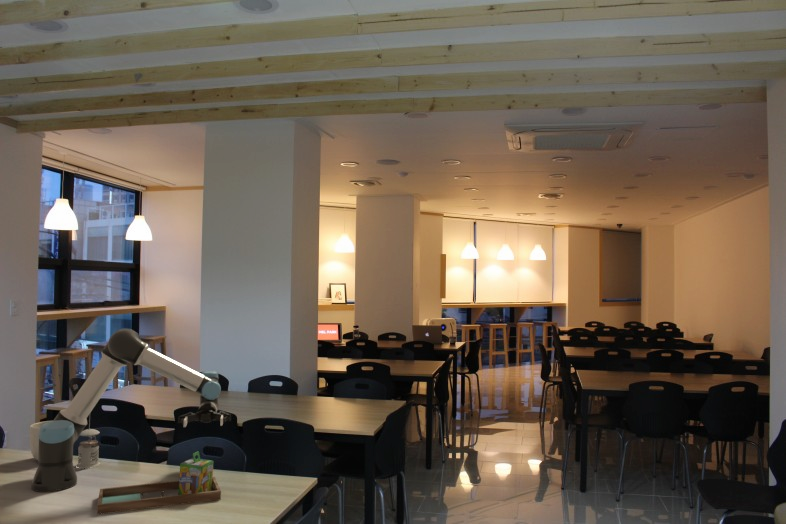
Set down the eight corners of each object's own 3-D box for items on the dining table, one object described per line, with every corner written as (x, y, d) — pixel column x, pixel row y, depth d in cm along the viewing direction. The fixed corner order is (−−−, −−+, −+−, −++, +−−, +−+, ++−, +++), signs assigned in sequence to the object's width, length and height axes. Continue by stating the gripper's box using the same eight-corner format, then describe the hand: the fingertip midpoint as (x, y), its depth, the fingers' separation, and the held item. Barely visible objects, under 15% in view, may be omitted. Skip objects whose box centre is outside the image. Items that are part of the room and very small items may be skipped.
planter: (52, 452, 276) (54, 418, 276) (81, 456, 270) (82, 421, 271) (18, 462, 260) (20, 426, 261) (48, 466, 254) (49, 429, 255)
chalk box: (200, 498, 215) (203, 456, 216) (177, 495, 217) (180, 454, 218) (212, 491, 224) (215, 451, 226) (190, 488, 226) (193, 448, 227)
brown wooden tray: (99, 497, 216) (100, 488, 217) (214, 484, 232) (214, 476, 232) (96, 514, 200) (97, 505, 200) (220, 499, 216) (220, 490, 216)
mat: (102, 498, 215) (102, 497, 215) (140, 494, 220) (140, 493, 220) (100, 511, 202) (100, 510, 202) (140, 507, 207) (140, 505, 207)
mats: (143, 494, 220) (143, 492, 220) (180, 490, 225) (180, 488, 225) (143, 506, 207) (143, 505, 207) (183, 502, 213) (183, 500, 213)
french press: (71, 469, 250) (74, 408, 251) (80, 461, 261) (82, 403, 263) (97, 468, 252) (99, 408, 253) (104, 460, 263) (106, 403, 264)
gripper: (237, 419, 255) (236, 431, 235) (175, 422, 250) (168, 434, 229) (237, 402, 256) (236, 411, 235) (176, 404, 250) (169, 414, 229)
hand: (203, 422), depth 232 cm, fingers open, 13 cm apart
